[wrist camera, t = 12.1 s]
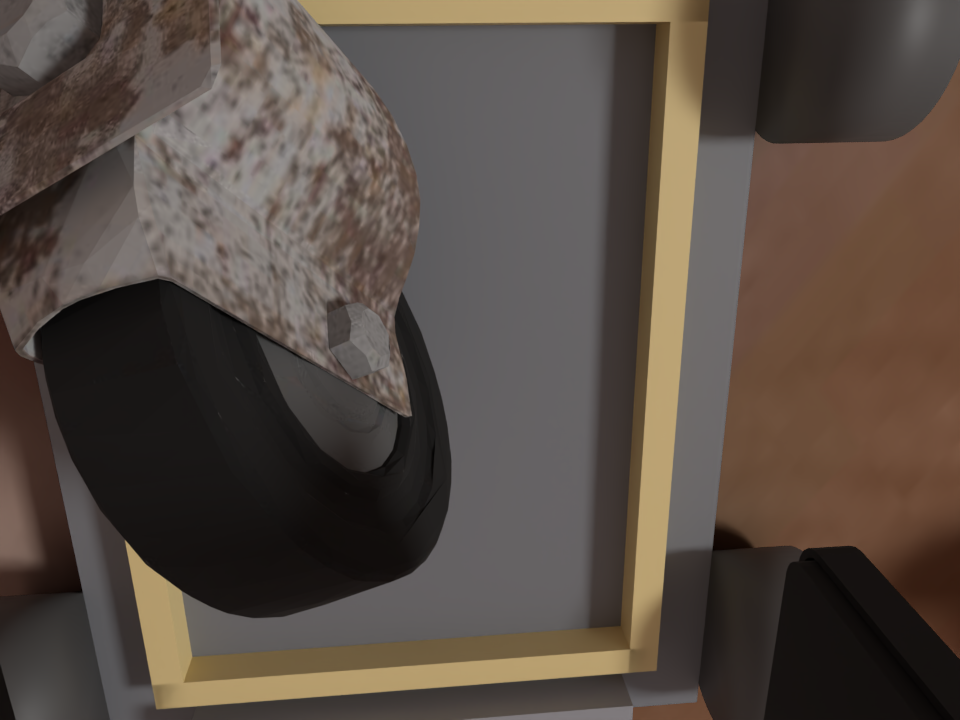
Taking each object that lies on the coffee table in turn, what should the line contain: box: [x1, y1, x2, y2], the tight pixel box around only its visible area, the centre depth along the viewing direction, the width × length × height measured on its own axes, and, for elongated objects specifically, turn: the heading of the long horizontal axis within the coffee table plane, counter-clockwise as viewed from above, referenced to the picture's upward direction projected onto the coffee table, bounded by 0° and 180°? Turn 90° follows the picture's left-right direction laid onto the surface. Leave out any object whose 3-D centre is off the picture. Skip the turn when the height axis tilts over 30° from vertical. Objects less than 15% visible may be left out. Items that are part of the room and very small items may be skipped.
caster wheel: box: [0, 0, 452, 618], centre depth 15 cm, size 7×11×10 cm
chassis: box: [0, 0, 960, 720], centre depth 19 cm, size 22×22×5 cm
